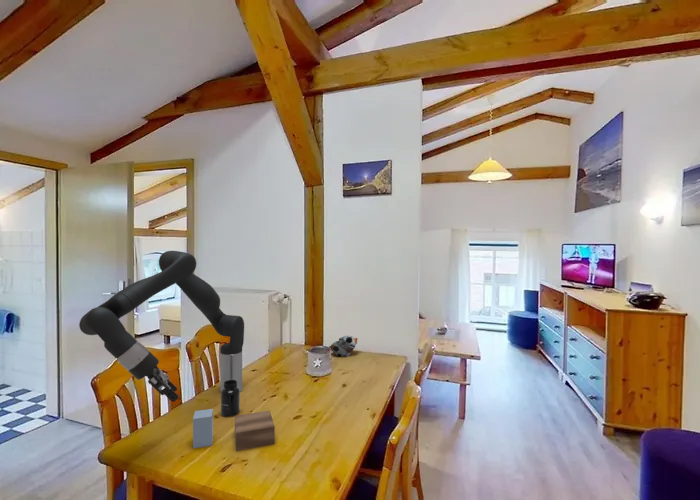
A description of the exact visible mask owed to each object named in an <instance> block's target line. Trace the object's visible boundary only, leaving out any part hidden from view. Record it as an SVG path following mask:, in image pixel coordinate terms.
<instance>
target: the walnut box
mask: <svg viewBox="0 0 700 500" xmlns="http://www.w3.org/2000/svg"><path fill="white" fill-rule="evenodd" d="M275 431H276V430H275V423H274V421H273V417H272V412H271V410H265V411H259V412H251V413H245V414H236V415H234V441H235V442H234V443H235V451H236V452H237V451H238V452H239V451H244V450H249V449H250V450H251V449H254V448H255V449H256V448H260V447H267V446H271V445H275V439H276V438H275V436H276V435H275V434H276V433H275Z"/></svg>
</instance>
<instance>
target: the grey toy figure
mask: <svg viewBox="0 0 700 500" xmlns="http://www.w3.org/2000/svg"><path fill="white" fill-rule="evenodd" d="M357 344H358V338H357V337H353V336H351V335H344V336H342V337H339V338H338V340H337V341H334V342H333V343H332V344H331V345H329V346H328V348H329V349H330V348H331V349H330V350H331V352H332V353H333V354H334V355H336V356H339V357H340V358H347V357H350V356H351V353H352V352H353V351H354V350H355V348H356V346H357Z"/></svg>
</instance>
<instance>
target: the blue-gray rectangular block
mask: <svg viewBox="0 0 700 500" xmlns="http://www.w3.org/2000/svg"><path fill="white" fill-rule="evenodd" d="M192 417H193V418H192V446H193V447H192V448H193V449H198V448H204V447H210V446H213V442H214V441H213V440H214V409H213V408H209V409H201V410H194V414H193V416H192Z"/></svg>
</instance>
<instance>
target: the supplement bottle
mask: <svg viewBox="0 0 700 500" xmlns="http://www.w3.org/2000/svg"><path fill="white" fill-rule="evenodd" d="M240 393H241V391H240V390H239V388H237V381H236V380H228V381H225V382H224V389H223V390H222V392H220V414H221V415H222V416H223V417H233V416H234V417H235V416H237V415H239V413H240V406H241V404H240V400H241V399H240V396H241V395H240Z"/></svg>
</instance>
